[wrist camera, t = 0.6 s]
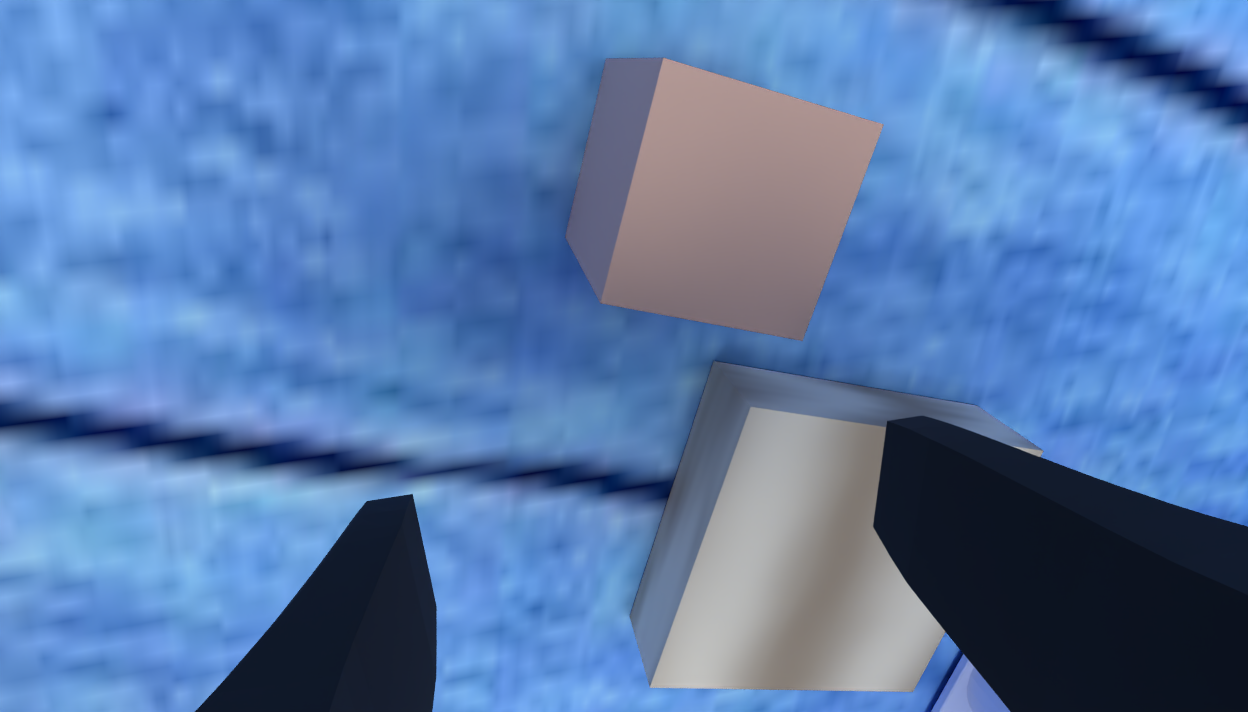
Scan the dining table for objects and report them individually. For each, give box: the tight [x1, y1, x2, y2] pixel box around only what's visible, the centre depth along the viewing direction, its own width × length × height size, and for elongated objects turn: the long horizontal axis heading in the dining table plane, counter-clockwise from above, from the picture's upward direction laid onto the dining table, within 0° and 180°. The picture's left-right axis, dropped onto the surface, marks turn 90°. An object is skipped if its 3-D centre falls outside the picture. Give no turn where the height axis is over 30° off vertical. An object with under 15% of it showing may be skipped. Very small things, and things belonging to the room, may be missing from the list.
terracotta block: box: [565, 58, 883, 341], centre depth 15 cm, size 4×4×6 cm
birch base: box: [630, 361, 1043, 692], centre depth 22 cm, size 10×10×3 cm
